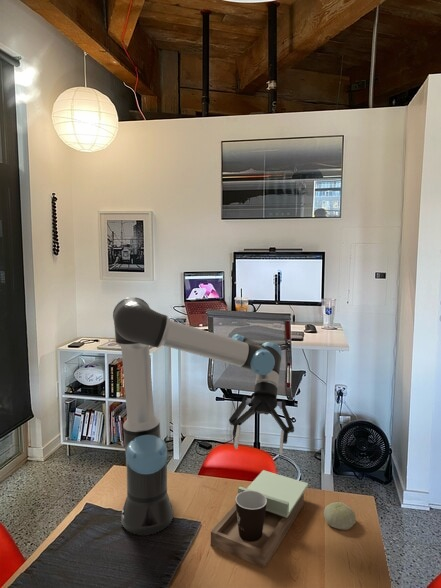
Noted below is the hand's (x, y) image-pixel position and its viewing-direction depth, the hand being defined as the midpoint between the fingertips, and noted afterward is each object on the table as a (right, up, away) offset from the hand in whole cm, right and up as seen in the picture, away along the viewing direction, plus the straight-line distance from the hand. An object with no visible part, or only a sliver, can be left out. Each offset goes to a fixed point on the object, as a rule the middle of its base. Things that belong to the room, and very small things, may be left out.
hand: (257, 450), depth 124 cm
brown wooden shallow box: (+1, -21, -3) cm, 21 cm away
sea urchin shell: (+24, -21, -1) cm, 32 cm away
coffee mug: (-3, -19, -8) cm, 21 cm away
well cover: (+6, -15, +6) cm, 17 cm away
